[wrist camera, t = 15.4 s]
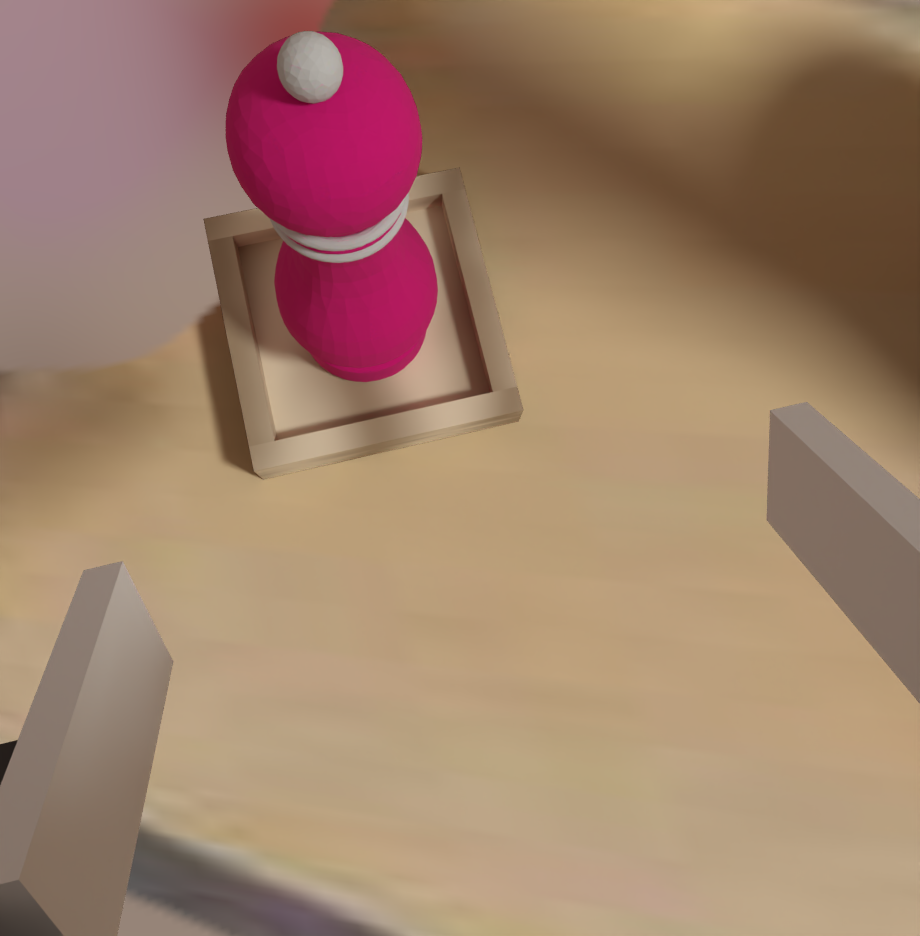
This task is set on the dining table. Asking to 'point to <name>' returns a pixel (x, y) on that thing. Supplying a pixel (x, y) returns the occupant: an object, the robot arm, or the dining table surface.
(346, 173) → the pepper mill
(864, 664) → the dining table surface
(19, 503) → the dining table surface
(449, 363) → the tray
